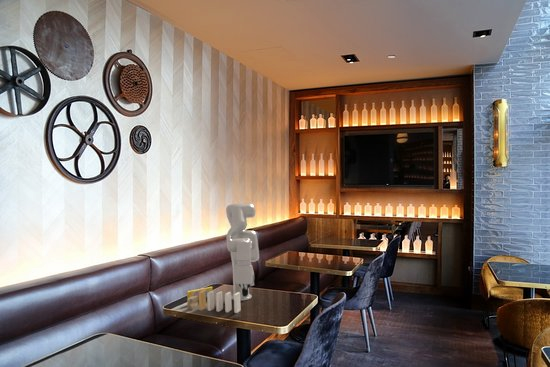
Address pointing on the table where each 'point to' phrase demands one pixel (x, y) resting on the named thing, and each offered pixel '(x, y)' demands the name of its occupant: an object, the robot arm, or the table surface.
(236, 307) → the domino
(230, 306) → the domino
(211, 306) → the domino
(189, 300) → the end block
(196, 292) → the candy box
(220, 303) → the domino
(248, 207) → the robot arm
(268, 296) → the table surface
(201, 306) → the domino
